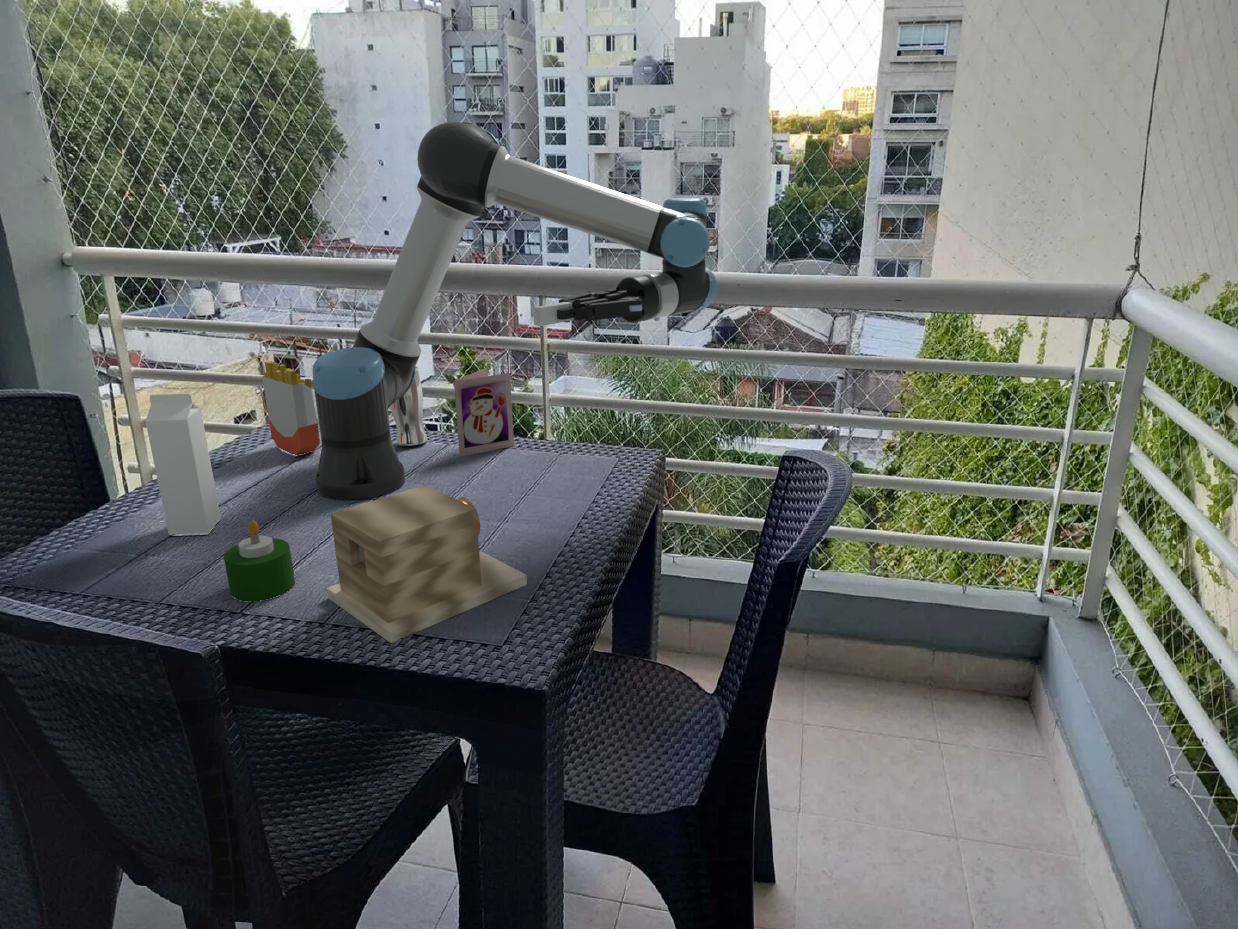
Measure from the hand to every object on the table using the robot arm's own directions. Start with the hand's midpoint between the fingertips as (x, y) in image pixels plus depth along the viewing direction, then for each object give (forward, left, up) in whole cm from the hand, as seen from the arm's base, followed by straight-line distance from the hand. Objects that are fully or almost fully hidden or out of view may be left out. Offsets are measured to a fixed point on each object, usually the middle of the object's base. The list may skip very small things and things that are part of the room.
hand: (537, 316), depth 133 cm
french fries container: (-60, +6, -32) cm, 68 cm away
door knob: (-1, -31, -27) cm, 41 cm away
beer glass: (-42, +19, -32) cm, 56 cm away
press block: (-1, -30, -32) cm, 44 cm away
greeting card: (-28, +23, -32) cm, 49 cm away
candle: (-22, -39, -32) cm, 55 cm away
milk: (-47, -29, -32) cm, 64 cm away
